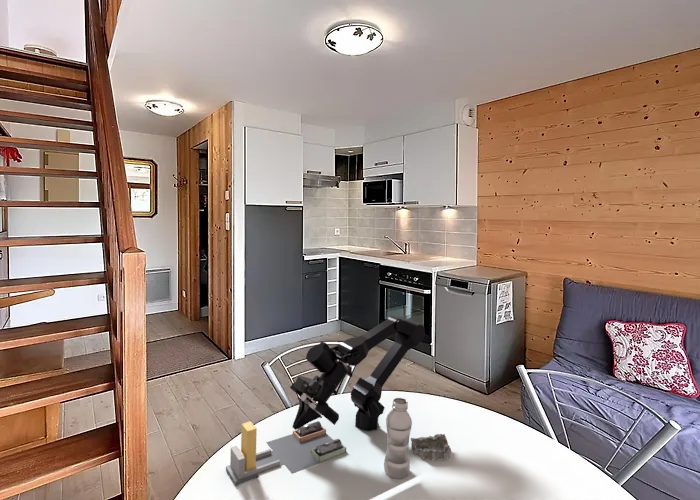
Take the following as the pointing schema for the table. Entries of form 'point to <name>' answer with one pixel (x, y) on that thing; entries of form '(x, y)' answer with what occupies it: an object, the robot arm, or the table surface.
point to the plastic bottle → (398, 440)
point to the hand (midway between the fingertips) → (293, 428)
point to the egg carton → (432, 442)
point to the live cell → (329, 447)
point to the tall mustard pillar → (249, 444)
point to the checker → (282, 455)
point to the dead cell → (309, 429)
